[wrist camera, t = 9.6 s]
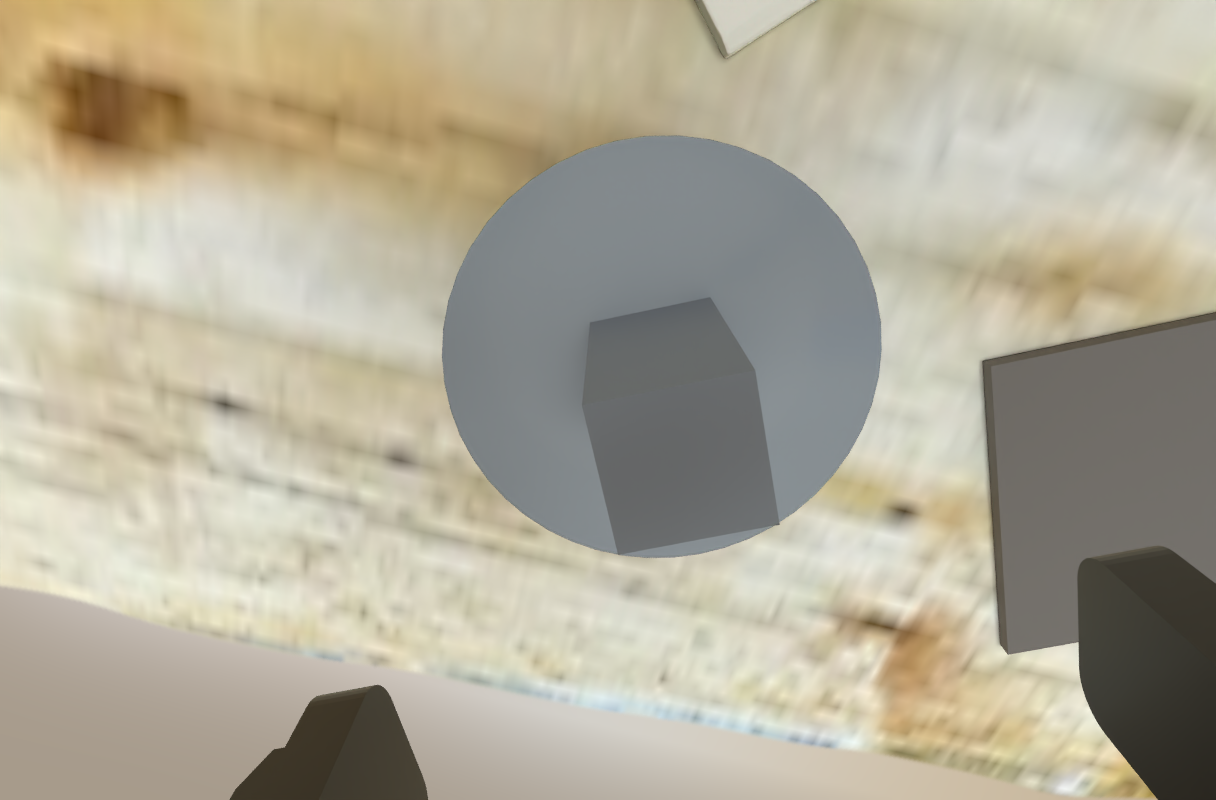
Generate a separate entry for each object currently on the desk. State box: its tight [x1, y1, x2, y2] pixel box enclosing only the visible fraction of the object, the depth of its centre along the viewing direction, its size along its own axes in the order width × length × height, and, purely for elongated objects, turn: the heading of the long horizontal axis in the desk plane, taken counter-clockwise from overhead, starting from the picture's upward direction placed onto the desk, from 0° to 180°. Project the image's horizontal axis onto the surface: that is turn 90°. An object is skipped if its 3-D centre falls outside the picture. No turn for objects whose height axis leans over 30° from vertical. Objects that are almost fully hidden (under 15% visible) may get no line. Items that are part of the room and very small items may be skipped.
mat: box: [983, 313, 1216, 655], centre depth 27 cm, size 12×12×1 cm
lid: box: [442, 136, 881, 558], centre depth 17 cm, size 11×11×7 cm
